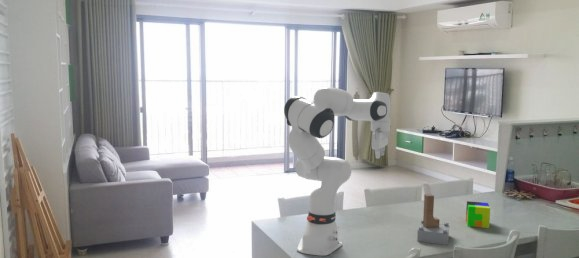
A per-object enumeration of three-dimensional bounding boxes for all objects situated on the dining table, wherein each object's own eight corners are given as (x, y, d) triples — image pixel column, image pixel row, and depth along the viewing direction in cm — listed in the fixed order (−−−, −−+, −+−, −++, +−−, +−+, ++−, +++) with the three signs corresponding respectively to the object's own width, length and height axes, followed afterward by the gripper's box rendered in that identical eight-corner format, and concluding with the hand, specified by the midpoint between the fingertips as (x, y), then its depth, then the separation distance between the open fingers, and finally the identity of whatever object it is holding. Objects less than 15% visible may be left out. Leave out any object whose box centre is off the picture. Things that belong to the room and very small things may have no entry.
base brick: (447, 244, 213) (448, 231, 212) (417, 240, 217) (417, 227, 216) (448, 235, 225) (449, 222, 224) (420, 231, 229) (420, 219, 228)
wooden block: (426, 228, 219) (427, 196, 218) (422, 225, 223) (424, 194, 221) (439, 227, 221) (440, 195, 219) (435, 224, 224) (437, 193, 222)
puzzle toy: (486, 221, 246) (487, 202, 244) (489, 228, 236) (490, 208, 235) (465, 220, 248) (466, 201, 247) (467, 226, 239) (468, 206, 237)
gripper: (382, 129, 210) (382, 160, 211) (391, 125, 229) (390, 154, 230) (368, 128, 212) (368, 159, 214) (378, 125, 231) (377, 153, 233)
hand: (379, 156), depth 222 cm, fingers open, 8 cm apart
